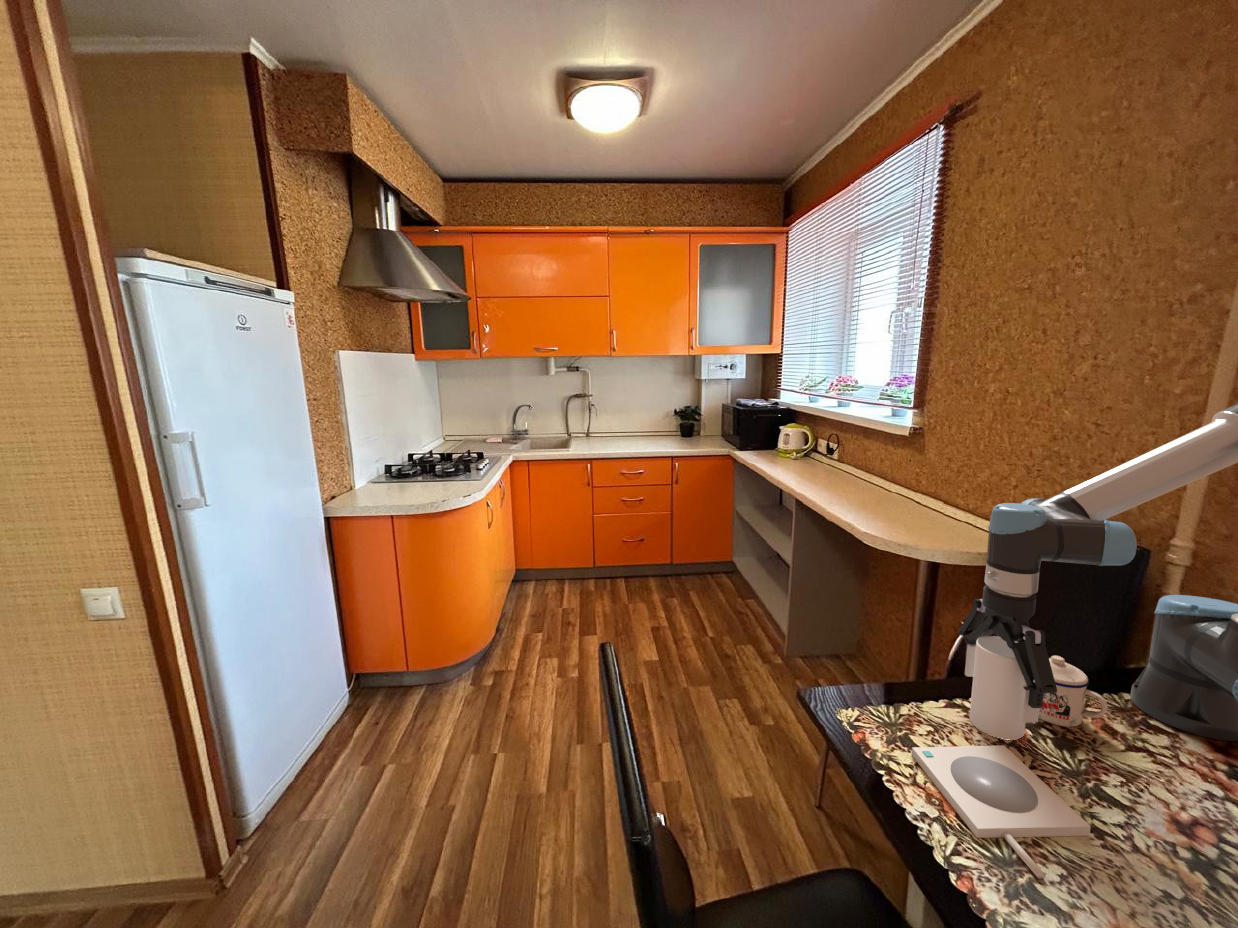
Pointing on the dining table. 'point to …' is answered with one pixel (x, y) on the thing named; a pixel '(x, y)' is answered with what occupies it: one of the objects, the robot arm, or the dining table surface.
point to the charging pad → (999, 795)
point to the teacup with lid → (1068, 696)
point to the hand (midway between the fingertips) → (998, 696)
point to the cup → (996, 689)
